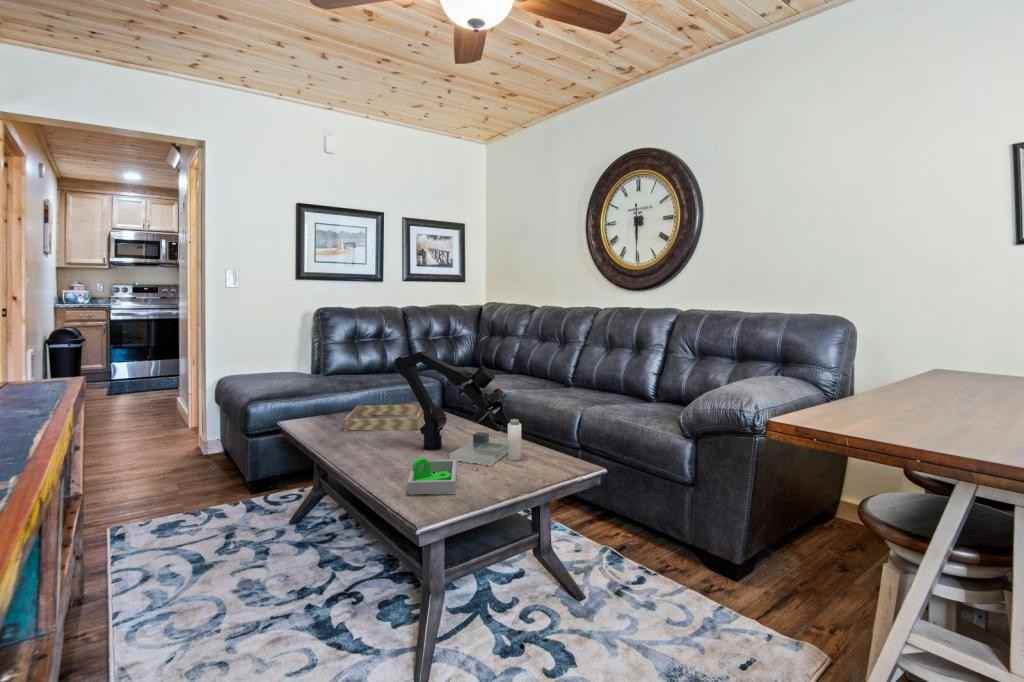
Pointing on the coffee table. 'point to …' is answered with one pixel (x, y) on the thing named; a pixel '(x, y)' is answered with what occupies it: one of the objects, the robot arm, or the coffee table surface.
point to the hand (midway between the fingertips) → (504, 427)
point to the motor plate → (481, 450)
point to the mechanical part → (428, 472)
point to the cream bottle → (514, 440)
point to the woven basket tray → (384, 424)
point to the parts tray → (434, 485)
